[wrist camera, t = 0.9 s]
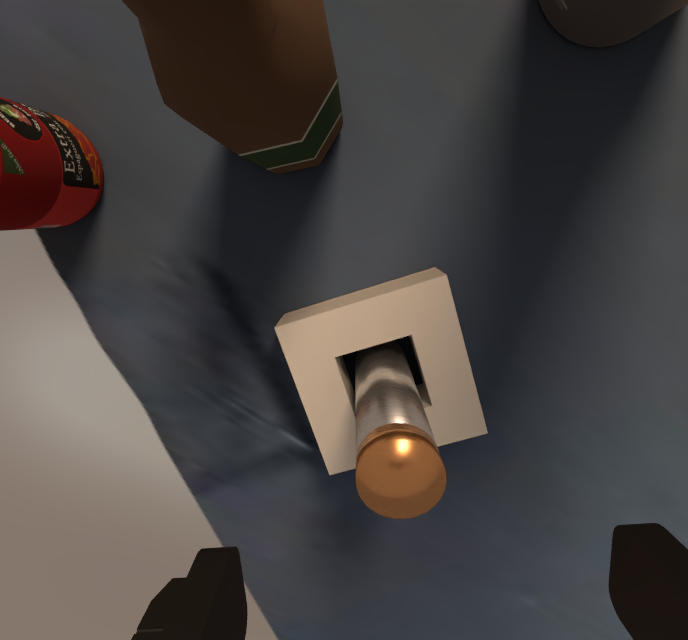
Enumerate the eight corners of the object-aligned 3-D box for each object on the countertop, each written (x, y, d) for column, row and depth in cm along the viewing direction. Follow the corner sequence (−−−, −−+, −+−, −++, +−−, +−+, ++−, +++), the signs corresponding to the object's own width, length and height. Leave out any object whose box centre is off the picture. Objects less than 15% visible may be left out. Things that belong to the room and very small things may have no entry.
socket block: (435, 266, 31) (446, 274, 27) (472, 407, 34) (487, 433, 30) (284, 313, 32) (274, 327, 28) (332, 446, 35) (329, 475, 31)
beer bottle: (300, 27, 27) (-23, -1103, 4) (366, 133, 29) (419, -221, 5) (209, 102, 28) (-456, -413, 5) (276, 199, 30) (1, 147, 7)
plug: (398, 331, 32) (433, 429, 18) (411, 377, 33) (456, 506, 18) (348, 346, 32) (344, 453, 18) (363, 390, 33) (370, 527, 19)
